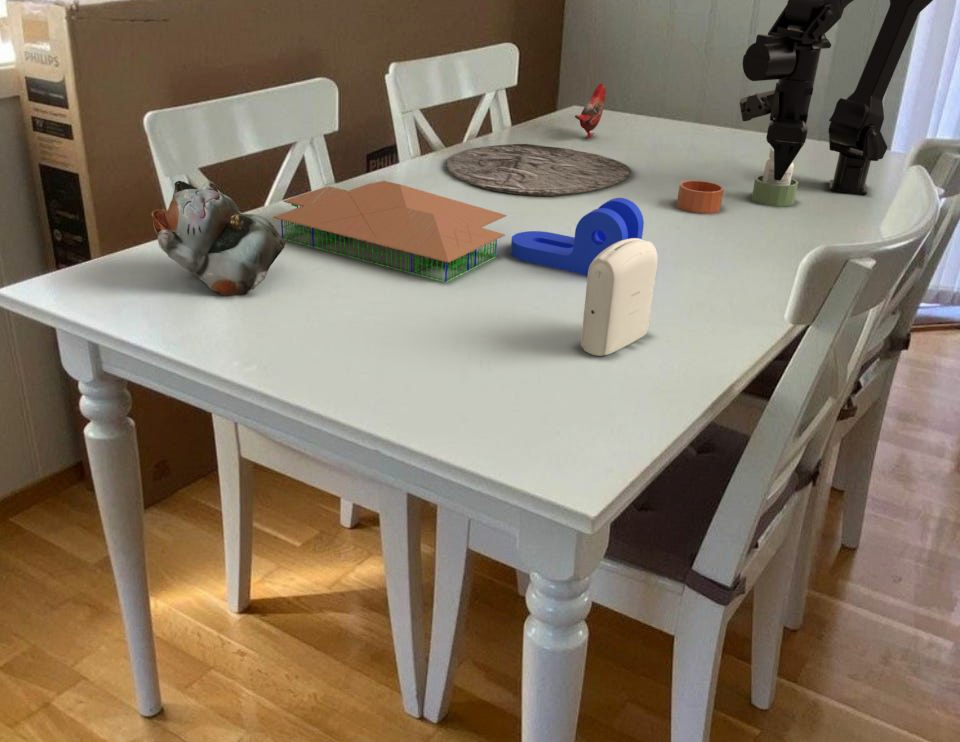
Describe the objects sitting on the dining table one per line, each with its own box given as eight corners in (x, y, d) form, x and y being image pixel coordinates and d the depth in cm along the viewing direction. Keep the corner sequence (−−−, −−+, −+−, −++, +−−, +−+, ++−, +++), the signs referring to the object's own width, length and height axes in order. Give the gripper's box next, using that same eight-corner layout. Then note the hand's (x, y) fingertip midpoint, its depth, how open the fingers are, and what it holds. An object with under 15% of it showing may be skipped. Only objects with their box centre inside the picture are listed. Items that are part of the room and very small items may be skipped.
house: (355, 200, 167) (354, 149, 163) (531, 242, 153) (535, 187, 149) (259, 235, 150) (255, 179, 146) (447, 285, 136) (449, 225, 132)
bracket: (638, 264, 147) (646, 202, 142) (617, 281, 140) (625, 216, 136) (525, 241, 153) (530, 180, 149) (500, 256, 147) (504, 193, 142)
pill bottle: (762, 193, 182) (771, 145, 177) (789, 198, 180) (799, 149, 176) (756, 200, 178) (765, 150, 174) (783, 204, 176) (793, 154, 172)
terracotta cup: (679, 198, 177) (682, 178, 175) (721, 204, 176) (725, 183, 174) (674, 210, 171) (677, 189, 169) (718, 215, 170) (722, 194, 168)
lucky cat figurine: (246, 304, 127) (179, 207, 119) (183, 319, 134) (116, 229, 126) (303, 238, 136) (245, 144, 128) (241, 256, 143) (182, 167, 135)
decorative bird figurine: (606, 132, 218) (611, 83, 213) (578, 149, 205) (583, 96, 199) (593, 130, 219) (598, 81, 214) (565, 147, 205) (569, 94, 200)
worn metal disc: (413, 178, 180) (413, 175, 180) (487, 139, 208) (487, 137, 207) (595, 206, 170) (595, 204, 170) (646, 161, 198) (647, 159, 198)
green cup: (752, 192, 183) (756, 172, 181) (794, 197, 181) (798, 177, 180) (750, 203, 177) (754, 182, 175) (793, 208, 175) (797, 187, 174)
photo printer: (604, 360, 118) (617, 256, 111) (574, 349, 120) (585, 246, 114) (652, 336, 125) (666, 236, 118) (622, 326, 127) (635, 228, 120)
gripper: (750, 64, 178) (734, 156, 186) (744, 82, 162) (727, 181, 171) (816, 70, 175) (797, 163, 184) (816, 89, 160) (795, 189, 168)
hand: (778, 173), depth 177 cm, fingers open, 9 cm apart
